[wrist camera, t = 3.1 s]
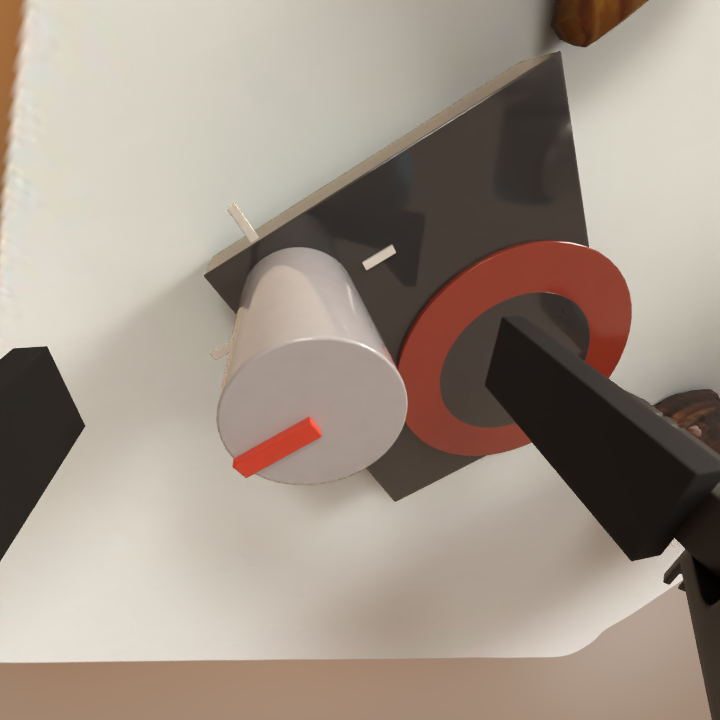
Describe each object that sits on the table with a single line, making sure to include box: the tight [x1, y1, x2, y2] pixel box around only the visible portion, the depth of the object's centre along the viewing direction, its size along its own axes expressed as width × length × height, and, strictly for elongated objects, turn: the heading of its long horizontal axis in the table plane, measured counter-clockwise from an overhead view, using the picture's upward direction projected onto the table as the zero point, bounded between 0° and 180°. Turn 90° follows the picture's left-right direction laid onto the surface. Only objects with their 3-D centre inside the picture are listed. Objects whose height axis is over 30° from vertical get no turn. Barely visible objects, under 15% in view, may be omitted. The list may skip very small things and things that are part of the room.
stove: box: [204, 51, 589, 502], centre depth 19 cm, size 17×20×3 cm
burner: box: [397, 240, 632, 456], centre depth 20 cm, size 13×13×1 cm
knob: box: [217, 247, 408, 485], centre depth 12 cm, size 5×5×8 cm
